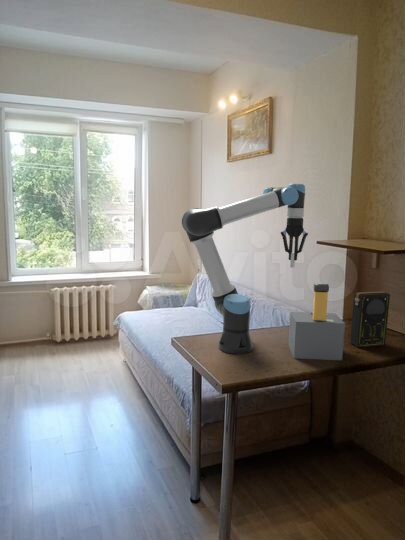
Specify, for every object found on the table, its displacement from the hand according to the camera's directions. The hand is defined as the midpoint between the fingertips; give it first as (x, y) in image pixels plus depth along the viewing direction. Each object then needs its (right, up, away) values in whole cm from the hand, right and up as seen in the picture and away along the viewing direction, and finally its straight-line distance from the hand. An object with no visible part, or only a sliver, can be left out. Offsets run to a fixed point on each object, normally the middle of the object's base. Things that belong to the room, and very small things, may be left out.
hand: (292, 266), depth 202 cm
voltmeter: (+34, -36, -5) cm, 50 cm away
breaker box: (+6, -38, -17) cm, 42 cm away
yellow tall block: (+6, -22, -24) cm, 33 cm away
